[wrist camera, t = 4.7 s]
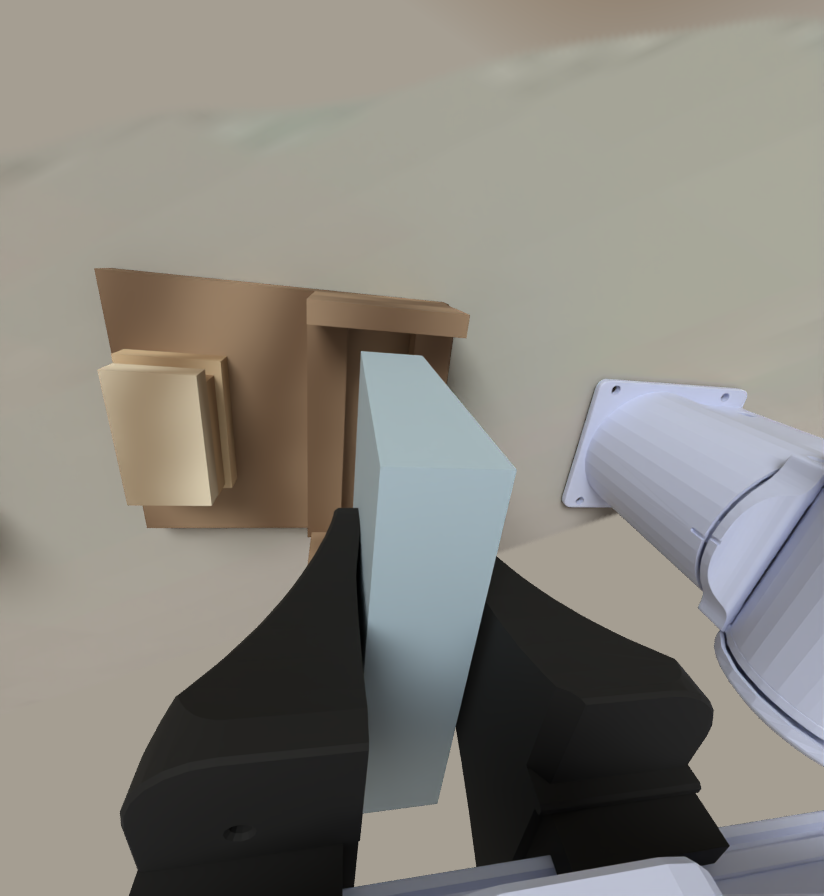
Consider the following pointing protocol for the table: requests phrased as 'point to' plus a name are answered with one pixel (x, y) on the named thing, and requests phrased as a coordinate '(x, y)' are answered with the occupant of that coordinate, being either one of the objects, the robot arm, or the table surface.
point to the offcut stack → (170, 426)
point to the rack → (276, 381)
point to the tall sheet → (420, 567)
